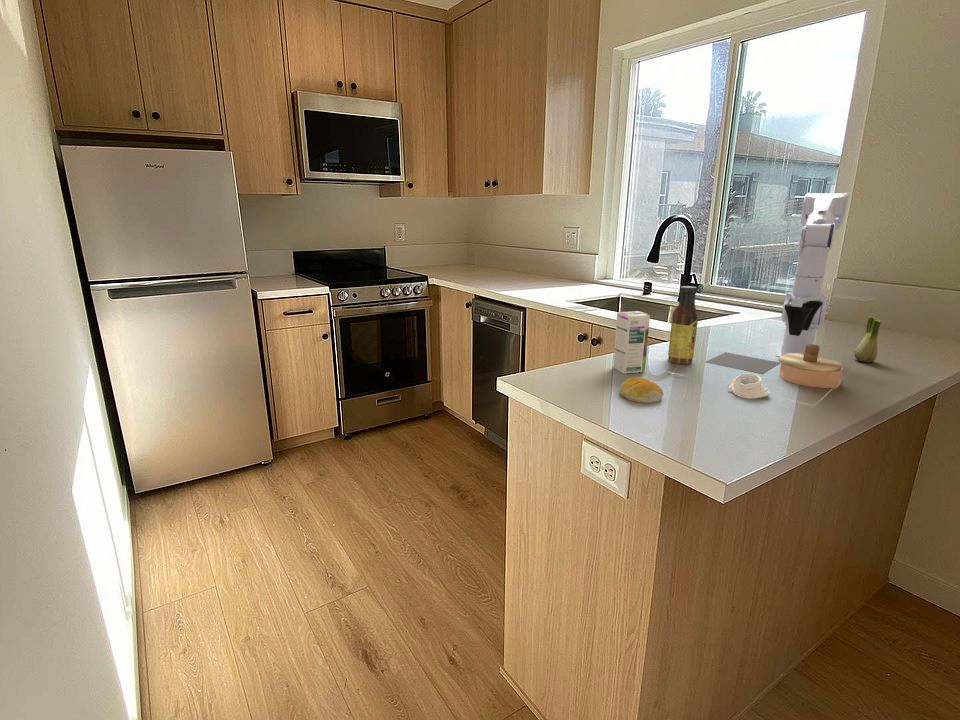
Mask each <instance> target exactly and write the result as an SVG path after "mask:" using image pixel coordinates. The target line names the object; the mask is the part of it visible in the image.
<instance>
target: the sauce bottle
mask: <svg viewBox="0 0 960 720" xmlns="http://www.w3.org/2000/svg"><path fill="white" fill-rule="evenodd" d="M697 290H698V288H697V286H691V285H684V286H683V285H681V286H679V299H678V300H679V301H678V305H677V307H676V308H675V309H674V310H673V312H672V319H671V320H672V321H671V324H670V325H671V326H670V335H669V342H668V343H669V345H668V359H667V360H668V362H670V363H671V364H675V365H683V366H684V365H685V366H687V365H691V364H692V363H693V359H694V357H695V355H694V354H695V348H696V340H697V339H696V338H697V331H698V324H699V316H698V312H697V308H696V305H695V304H696V294H697V292H698V291H697Z"/></svg>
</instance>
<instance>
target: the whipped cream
mask: <svg viewBox="0 0 960 720" xmlns="http://www.w3.org/2000/svg"><path fill="white" fill-rule="evenodd" d="M762 382H763V379H762V378H761V376H759V375H757V374H756V373H753V372H744V373H741V374H739V375H737V376H735V378H734V379H733V380H732V381H731V382H730V384H729V385H728V388H729V390H730V389H731V392H732V393H733V394H734V395H735V396H738V397H741V398H744V399H751V400H753V399H760V398H764V397H767V396H769V395H770V391H768V389H767V387H766V386H765V385H764V384H763V383H762Z"/></svg>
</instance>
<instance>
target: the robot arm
mask: <svg viewBox="0 0 960 720" xmlns="http://www.w3.org/2000/svg"><path fill="white" fill-rule="evenodd" d="M806 193H807V194H805V195H804V197H803V202H802V207H801V214H800V215H801V218H800V224H801V230H800V234H799V235H800V236H799V241H798V247H799V248H798V253H797V254H798V259H797V265H796V270H795V275H794V282H793V286H792V287H793V288H792V291H790V292H786V293H785V299H784V303H783V306H782V312H781V319H780V320H781V321H782V323H784V327H785V329H784V333H783V338H782V344H781V349H780V352H778V353H777V354H775V357H778V358H779V356H780V355H782V354H788V353H799V354H804V352H805V347H806V344H813V345H816V341H817V334H818V332H817V329H818V327H821V326H823V325H824V323H825V319H826V313H827V307H828V300H829V299H828V296H826V295H825V294H824V293H823V292H822V287H823V282H824V277H825V271H826V267H827V261H828V256H829V252H830V250H831V249H832V246H833V242H834V238H835V232H836V231H837V230H839V229H841V227H842V225H843V223H844V218H845V216H846V212H847V207H848V203H849V197H850V195H849V194H848V192H844V193H840V192H839V193H810V192H806Z"/></svg>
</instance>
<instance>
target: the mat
mask: <svg viewBox="0 0 960 720" xmlns="http://www.w3.org/2000/svg"><path fill="white" fill-rule="evenodd" d="M705 363H707V364H712V365H717V366H721V367H727V368H731V369H736V370H741V371H745V372H748V373H753V374H759V375H764V374H766V373H767V372H768V371H770V370H772V369H773V368H775V367H776V366H778V365H779V364H781V362H780V361H775V360H768V359H763V358H758V357H752V356H747V355H741V354H737V353H731V352H722V353H721V354H718V355H717V356H715V357H713V358H711V359H708V360H707V361H705Z"/></svg>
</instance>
